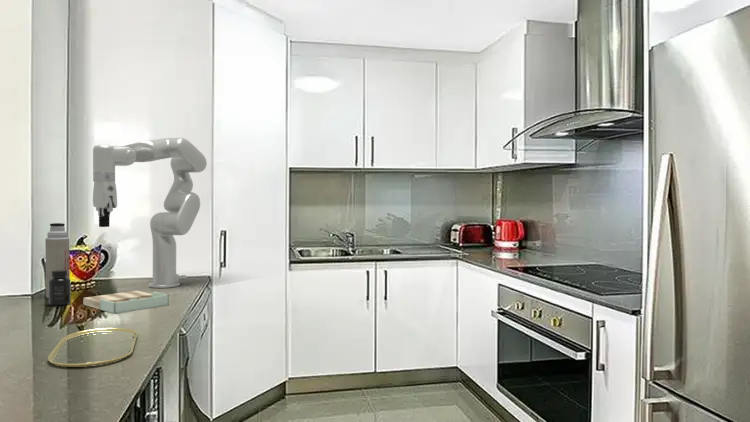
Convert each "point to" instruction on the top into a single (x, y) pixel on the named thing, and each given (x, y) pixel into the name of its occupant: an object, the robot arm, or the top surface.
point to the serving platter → (64, 339)
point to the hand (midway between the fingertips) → (104, 226)
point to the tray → (135, 303)
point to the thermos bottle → (56, 252)
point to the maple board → (113, 298)
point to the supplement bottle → (59, 288)
